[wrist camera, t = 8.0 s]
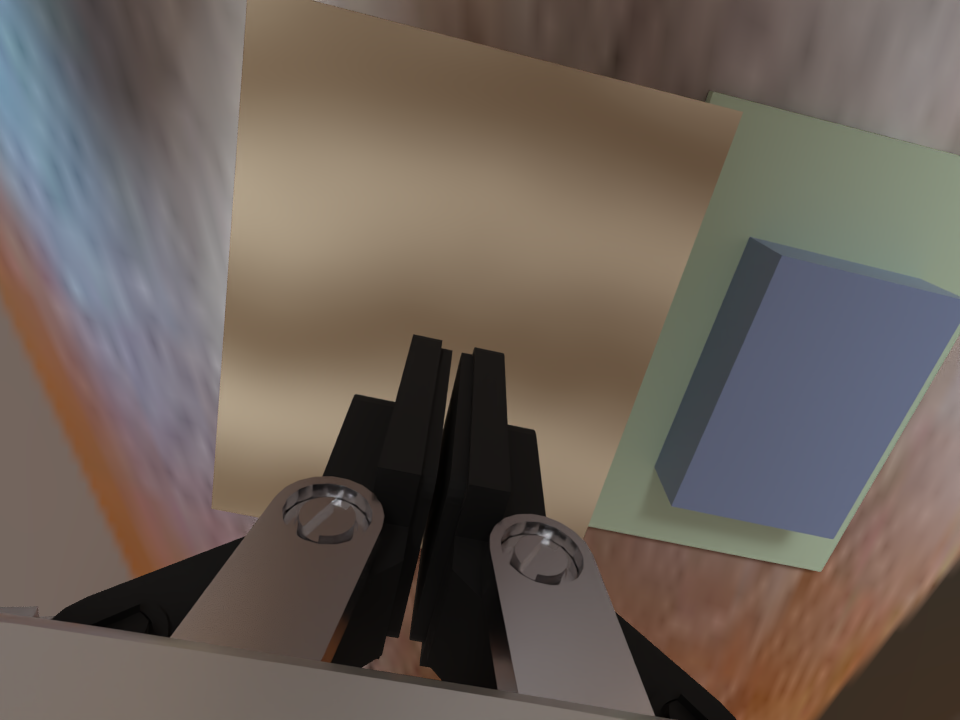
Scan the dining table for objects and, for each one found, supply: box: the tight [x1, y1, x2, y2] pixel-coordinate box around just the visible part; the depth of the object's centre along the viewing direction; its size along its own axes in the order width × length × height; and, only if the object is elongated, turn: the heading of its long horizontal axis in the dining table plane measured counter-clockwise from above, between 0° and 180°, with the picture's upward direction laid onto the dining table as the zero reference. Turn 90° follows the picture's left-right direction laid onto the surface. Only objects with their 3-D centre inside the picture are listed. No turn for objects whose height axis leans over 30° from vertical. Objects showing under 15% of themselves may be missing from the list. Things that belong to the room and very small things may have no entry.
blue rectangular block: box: [654, 237, 960, 539], centre depth 21 cm, size 9×6×2 cm, turn 167°
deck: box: [212, 0, 743, 548], centre depth 20 cm, size 15×12×4 cm
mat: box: [588, 91, 960, 572], centre depth 22 cm, size 16×11×1 cm
